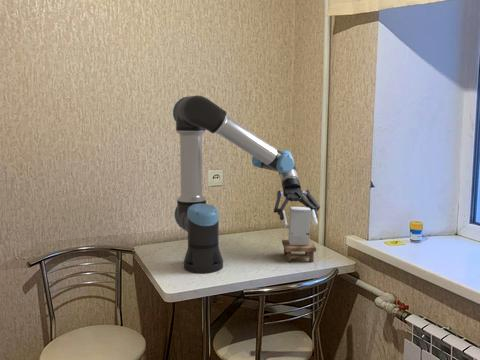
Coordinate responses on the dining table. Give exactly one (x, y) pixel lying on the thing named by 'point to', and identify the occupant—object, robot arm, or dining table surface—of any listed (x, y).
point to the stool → (299, 250)
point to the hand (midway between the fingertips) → (301, 225)
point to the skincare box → (299, 226)
